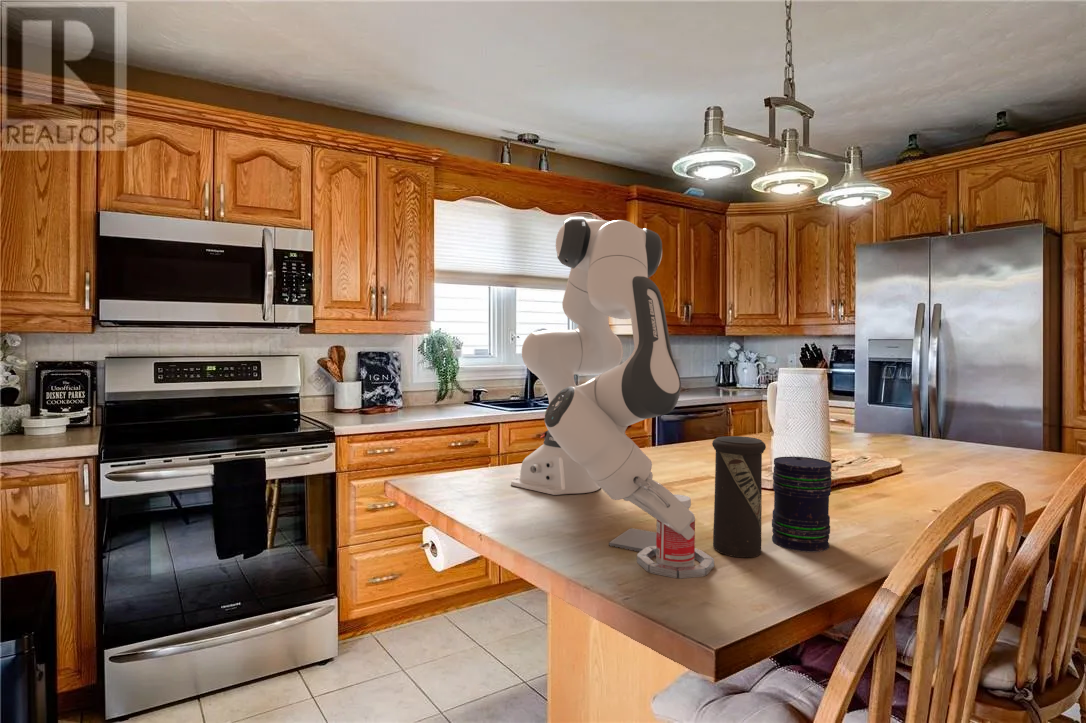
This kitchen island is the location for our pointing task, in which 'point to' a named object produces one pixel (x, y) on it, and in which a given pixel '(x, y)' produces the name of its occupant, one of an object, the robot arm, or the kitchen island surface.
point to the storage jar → (801, 503)
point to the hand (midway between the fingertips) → (679, 528)
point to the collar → (675, 572)
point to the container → (738, 495)
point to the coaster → (634, 539)
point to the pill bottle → (675, 542)
